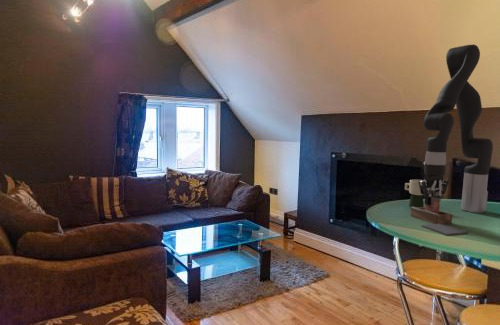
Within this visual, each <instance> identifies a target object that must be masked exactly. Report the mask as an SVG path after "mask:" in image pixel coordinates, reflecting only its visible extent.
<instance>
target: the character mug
mask: <svg viewBox="0 0 500 325" xmlns="http://www.w3.org/2000/svg"><path fill="white" fill-rule="evenodd" d="M422 180H423V179H410V180H409V182H405V183H404V190H405V191H408V192H409V194H411V196H410V197H409V203H408V206H409V207H410V208H411V207H416V208H417V207H425V201H424V197H423V196H424V195H423V194H421V192H420V187H419V183H418V182H419V181H422ZM429 189H430V188H429Z"/></svg>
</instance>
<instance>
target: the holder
mask: <svg viewBox="0 0 500 325" xmlns="http://www.w3.org/2000/svg"><path fill="white" fill-rule="evenodd" d="M424 209H425V206H424V207H417V208H416V207H410V217H413V218H415V219H418V220H420V221H421V220H422V221H424V222H427V223H430V224H440V223H443V224H446V225H449V224H452V222H453V214H451V213H449V212H445V211H442V210H439V214H436V213H433V212H430V211H426V210H424Z"/></svg>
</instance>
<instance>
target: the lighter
mask: <svg viewBox="0 0 500 325" xmlns="http://www.w3.org/2000/svg"><path fill="white" fill-rule="evenodd" d="M428 193H429V191H428ZM437 196H439V193H438V191H437V192H435V191H432V194H431V205H430V206H427V205H425V204H424V207H425V209H424V210H426V211H430V212H433V213H436V214H439V211H440V205H441V201H442V200H441V197H440V198H438V197H437Z"/></svg>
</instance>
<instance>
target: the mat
mask: <svg viewBox="0 0 500 325" xmlns="http://www.w3.org/2000/svg"><path fill="white" fill-rule="evenodd" d="M421 227H422V228H424V229H427V230H430V231H432V232H435V233H438V234H442V235H444V236H456V235H463V234H464V235H466V234H469V231H467V230H465V229H460V228H458V227H455V226H451V225H449V224H443V223H440V224H433V223H430V224H421Z"/></svg>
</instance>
